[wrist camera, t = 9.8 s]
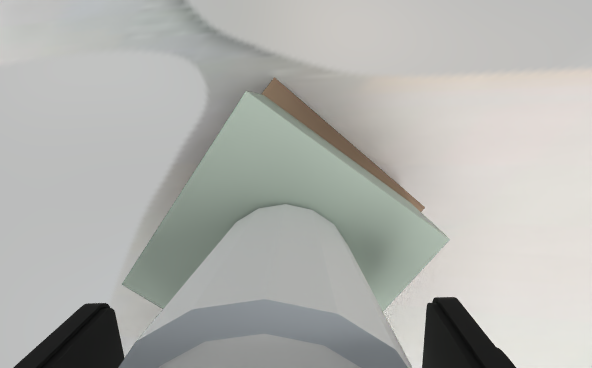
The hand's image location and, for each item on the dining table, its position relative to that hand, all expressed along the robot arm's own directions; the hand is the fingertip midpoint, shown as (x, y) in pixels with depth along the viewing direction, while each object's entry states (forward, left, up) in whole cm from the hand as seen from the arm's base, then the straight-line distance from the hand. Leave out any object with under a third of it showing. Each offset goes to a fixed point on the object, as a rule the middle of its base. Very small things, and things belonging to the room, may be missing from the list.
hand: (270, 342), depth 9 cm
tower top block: (0, 0, -9) cm, 9 cm away
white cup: (0, 0, -4) cm, 4 cm away
